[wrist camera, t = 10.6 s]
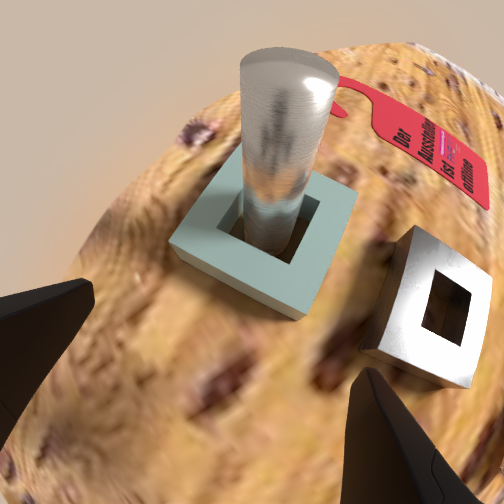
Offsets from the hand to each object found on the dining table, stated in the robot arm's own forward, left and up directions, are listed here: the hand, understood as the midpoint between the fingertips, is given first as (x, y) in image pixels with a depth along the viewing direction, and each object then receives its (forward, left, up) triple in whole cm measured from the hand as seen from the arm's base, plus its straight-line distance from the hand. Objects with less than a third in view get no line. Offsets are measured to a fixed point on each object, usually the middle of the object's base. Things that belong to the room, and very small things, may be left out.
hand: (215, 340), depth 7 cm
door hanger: (+24, +15, -10) cm, 30 cm away
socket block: (+14, -3, -9) cm, 17 cm away
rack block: (+4, +7, -9) cm, 12 cm away
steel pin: (+4, +7, -9) cm, 12 cm away
